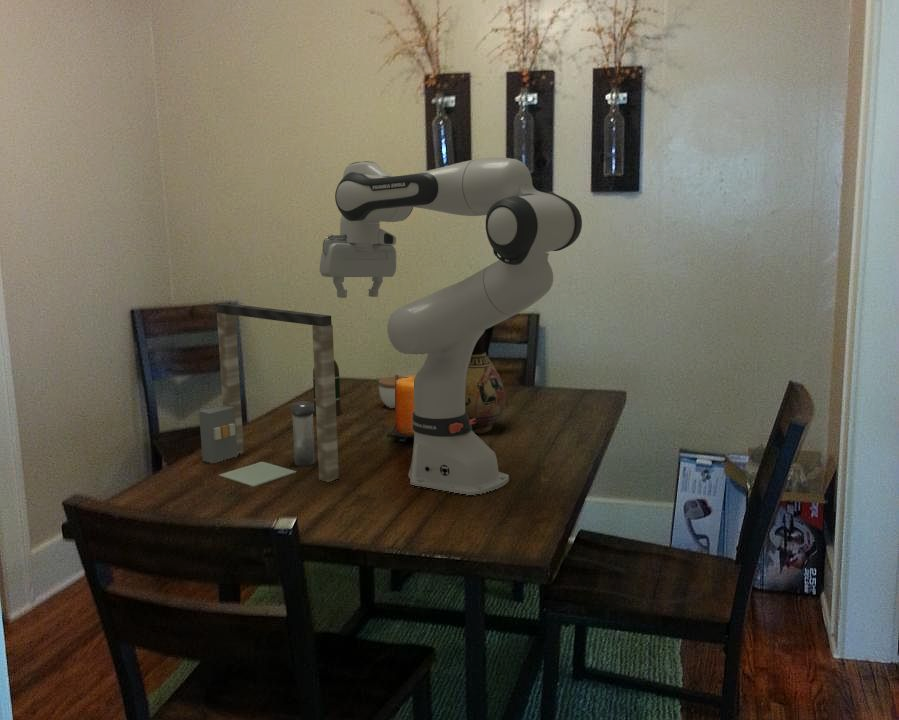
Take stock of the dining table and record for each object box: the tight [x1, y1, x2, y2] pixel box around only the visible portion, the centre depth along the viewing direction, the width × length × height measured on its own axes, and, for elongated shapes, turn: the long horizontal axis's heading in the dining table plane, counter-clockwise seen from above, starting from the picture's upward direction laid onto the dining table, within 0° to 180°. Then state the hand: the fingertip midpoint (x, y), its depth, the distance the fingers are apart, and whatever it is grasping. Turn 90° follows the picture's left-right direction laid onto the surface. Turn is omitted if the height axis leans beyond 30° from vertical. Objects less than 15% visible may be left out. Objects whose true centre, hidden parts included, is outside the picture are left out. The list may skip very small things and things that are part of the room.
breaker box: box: [198, 404, 239, 464], centre depth 208 cm, size 5×7×12 cm
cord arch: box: [216, 302, 340, 483], centre depth 200 cm, size 36×3×36 cm, turn 50°
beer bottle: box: [312, 359, 341, 417], centre depth 246 cm, size 8×8×24 cm
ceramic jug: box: [465, 325, 506, 434], centre depth 229 cm, size 17×15×30 cm
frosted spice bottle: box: [290, 400, 316, 467], centre depth 204 cm, size 5×5×14 cm
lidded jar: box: [377, 374, 409, 409], centre depth 255 cm, size 11×11×9 cm
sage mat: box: [218, 461, 297, 488], centre depth 197 cm, size 12×12×1 cm
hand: (357, 297), depth 201 cm, fingers open, 8 cm apart
